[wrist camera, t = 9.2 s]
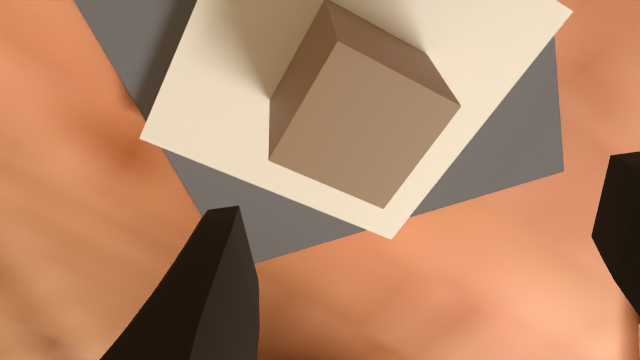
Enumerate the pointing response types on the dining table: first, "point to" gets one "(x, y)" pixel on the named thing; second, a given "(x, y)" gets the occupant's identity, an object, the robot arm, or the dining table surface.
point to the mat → (293, 217)
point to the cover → (344, 94)
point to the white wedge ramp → (639, 340)
